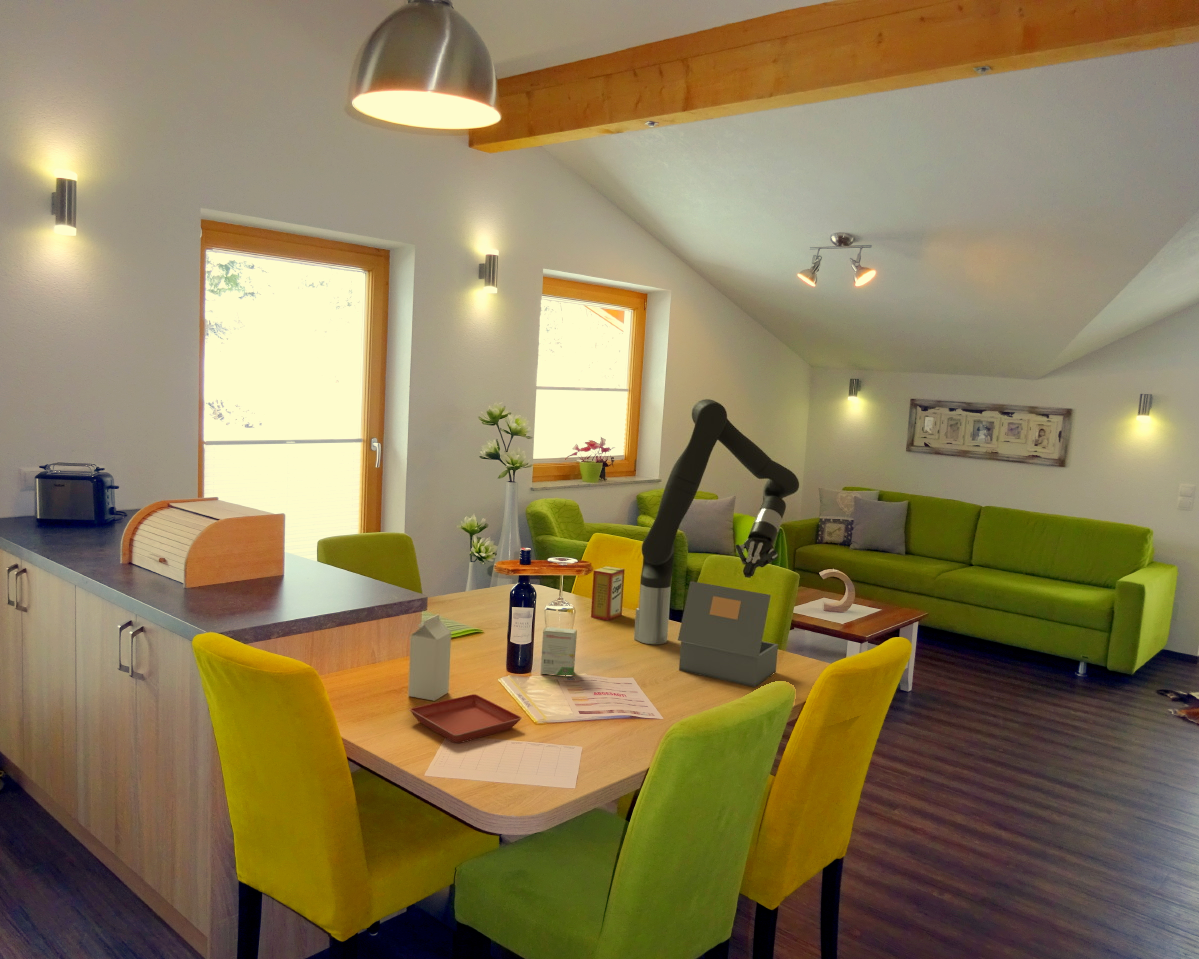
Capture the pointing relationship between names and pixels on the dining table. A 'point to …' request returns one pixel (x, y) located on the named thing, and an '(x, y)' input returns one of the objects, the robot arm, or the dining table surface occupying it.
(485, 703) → the plant saucer
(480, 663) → the dining table surface
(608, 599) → the baking soda box
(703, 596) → the mailer lid
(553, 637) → the ink box
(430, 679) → the milk carton
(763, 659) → the mailer box
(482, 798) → the dining table surface
